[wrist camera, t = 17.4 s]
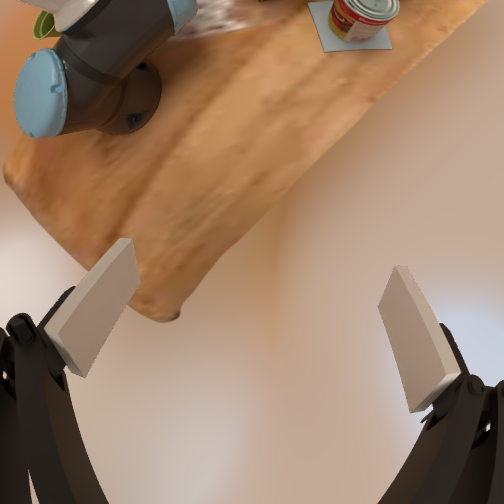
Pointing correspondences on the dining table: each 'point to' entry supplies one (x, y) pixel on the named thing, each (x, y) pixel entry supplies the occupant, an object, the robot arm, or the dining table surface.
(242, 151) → the dining table surface
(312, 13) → the mat
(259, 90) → the dining table surface
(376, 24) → the canned food
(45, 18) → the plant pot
